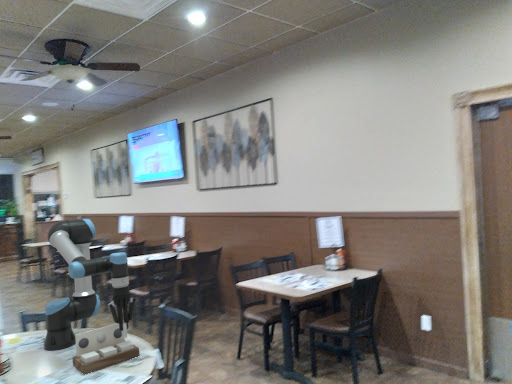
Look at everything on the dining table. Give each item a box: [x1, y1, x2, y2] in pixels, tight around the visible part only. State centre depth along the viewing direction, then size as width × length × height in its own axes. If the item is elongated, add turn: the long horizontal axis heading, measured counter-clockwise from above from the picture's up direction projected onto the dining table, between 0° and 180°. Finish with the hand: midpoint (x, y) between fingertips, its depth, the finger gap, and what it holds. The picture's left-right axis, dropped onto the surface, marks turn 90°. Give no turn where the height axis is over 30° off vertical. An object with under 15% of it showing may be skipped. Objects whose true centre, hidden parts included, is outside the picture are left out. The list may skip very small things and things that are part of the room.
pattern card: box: [74, 323, 126, 357], centre depth 191 cm, size 2×22×10 cm, turn 131°
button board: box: [71, 340, 141, 376], centre depth 187 cm, size 15×25×4 cm, turn 131°
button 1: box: [81, 351, 99, 364], centre depth 180 cm, size 6×6×3 cm
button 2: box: [116, 340, 135, 352], centre depth 190 cm, size 6×6×3 cm
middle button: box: [99, 346, 117, 358], centre depth 185 cm, size 6×6×3 cm
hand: (124, 336), depth 190 cm, fingers closed
